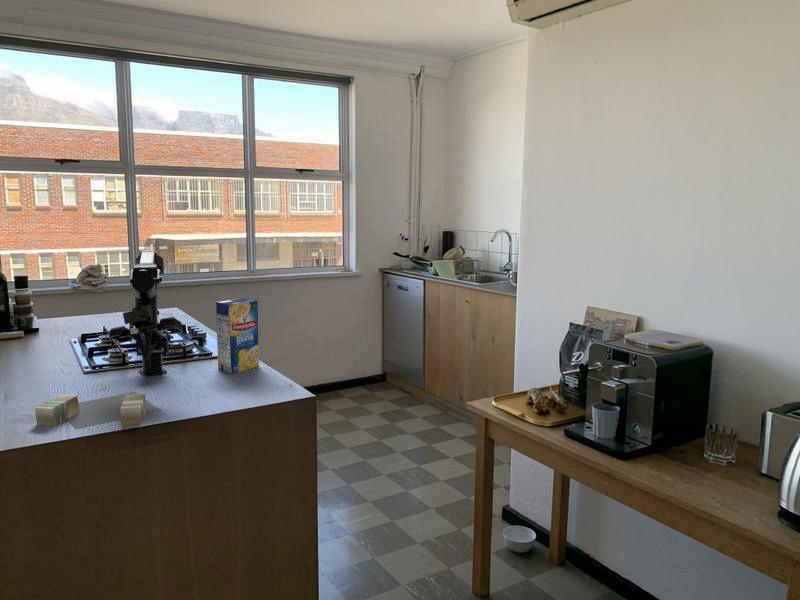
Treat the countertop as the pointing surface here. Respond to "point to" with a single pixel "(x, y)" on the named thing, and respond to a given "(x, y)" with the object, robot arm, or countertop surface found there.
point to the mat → (102, 411)
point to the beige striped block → (57, 410)
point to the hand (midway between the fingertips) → (146, 359)
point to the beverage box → (237, 335)
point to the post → (133, 409)
